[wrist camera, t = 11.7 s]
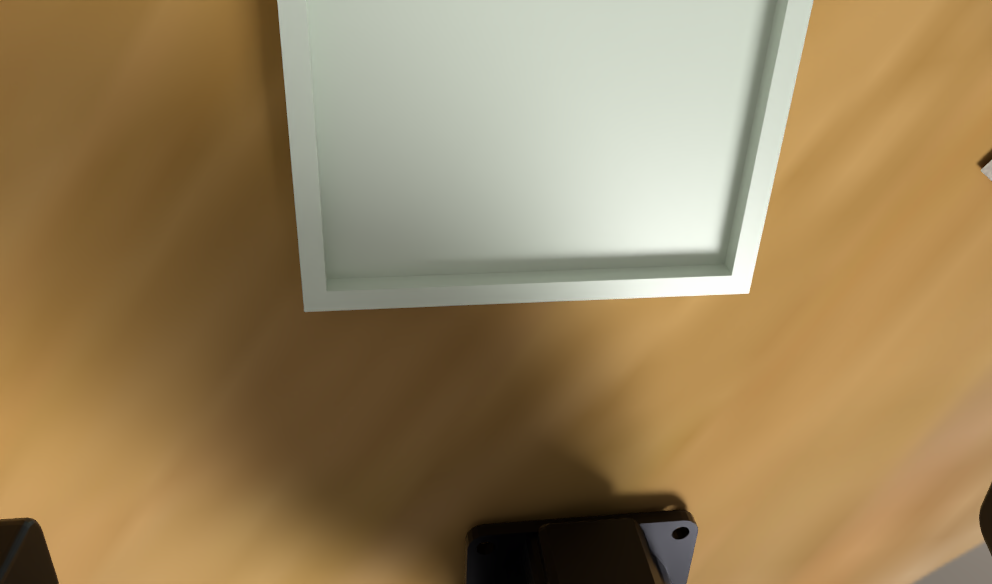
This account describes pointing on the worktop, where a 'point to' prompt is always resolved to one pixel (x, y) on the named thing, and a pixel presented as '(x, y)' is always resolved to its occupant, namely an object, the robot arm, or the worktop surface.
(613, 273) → the tray
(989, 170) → the condiment
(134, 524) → the worktop surface
